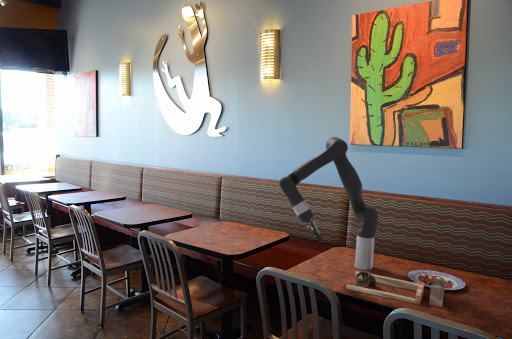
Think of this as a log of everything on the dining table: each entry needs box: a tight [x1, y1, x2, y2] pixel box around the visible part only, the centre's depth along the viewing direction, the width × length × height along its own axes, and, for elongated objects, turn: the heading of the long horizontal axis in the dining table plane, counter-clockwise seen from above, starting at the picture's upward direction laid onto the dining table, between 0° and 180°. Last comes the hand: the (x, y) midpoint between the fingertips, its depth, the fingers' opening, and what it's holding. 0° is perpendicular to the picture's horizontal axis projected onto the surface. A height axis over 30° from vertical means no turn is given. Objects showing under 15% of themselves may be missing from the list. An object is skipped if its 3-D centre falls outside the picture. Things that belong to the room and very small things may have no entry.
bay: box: [345, 270, 425, 306], centre depth 186 cm, size 18×32×4 cm, turn 62°
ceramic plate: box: [407, 269, 466, 291], centre depth 197 cm, size 26×26×3 cm
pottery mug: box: [355, 270, 378, 289], centre depth 190 cm, size 12×10×8 cm
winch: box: [428, 278, 445, 308], centre depth 174 cm, size 15×5×9 cm, turn 152°
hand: (321, 241), depth 198 cm, fingers closed
